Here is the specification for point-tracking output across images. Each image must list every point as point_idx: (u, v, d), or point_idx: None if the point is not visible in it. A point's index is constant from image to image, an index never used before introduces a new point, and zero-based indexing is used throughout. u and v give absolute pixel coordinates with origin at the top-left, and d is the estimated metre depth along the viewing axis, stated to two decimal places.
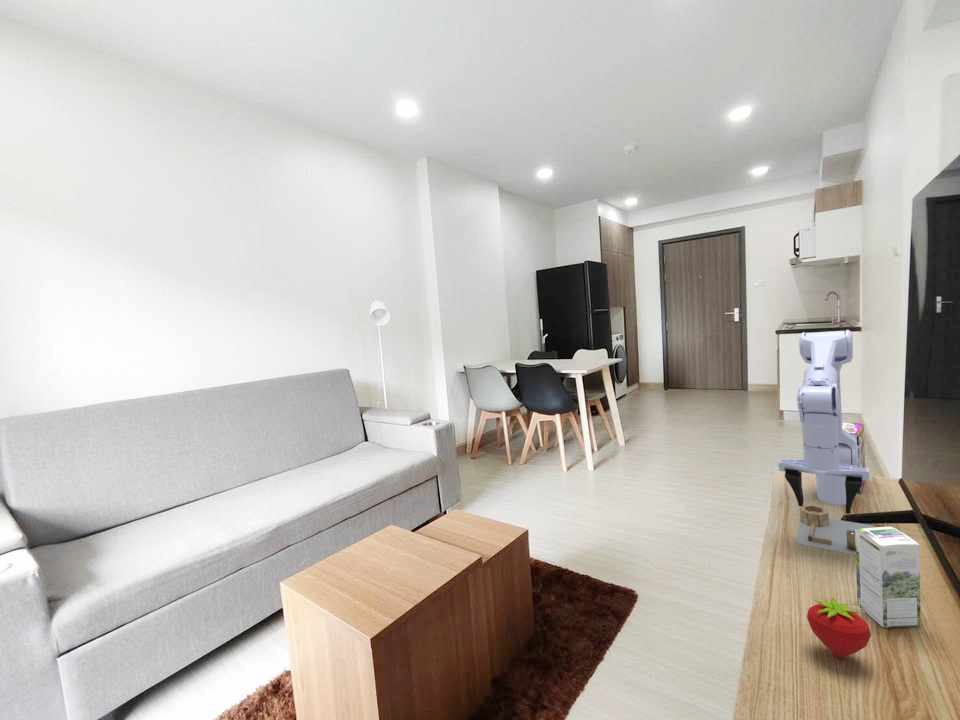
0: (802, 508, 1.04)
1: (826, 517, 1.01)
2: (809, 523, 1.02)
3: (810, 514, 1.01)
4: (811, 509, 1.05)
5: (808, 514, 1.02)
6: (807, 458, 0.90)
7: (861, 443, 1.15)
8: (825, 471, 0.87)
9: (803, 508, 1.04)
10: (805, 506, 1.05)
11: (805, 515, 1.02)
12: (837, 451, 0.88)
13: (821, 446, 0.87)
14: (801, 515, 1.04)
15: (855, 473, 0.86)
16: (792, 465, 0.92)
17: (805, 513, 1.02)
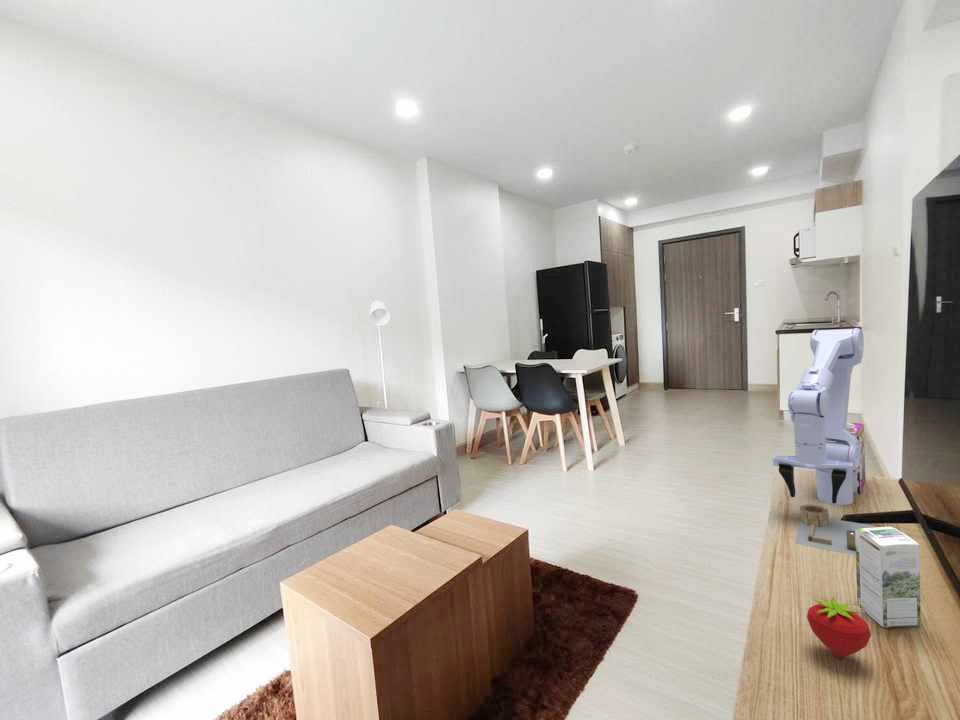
0: (802, 508, 1.04)
1: (826, 517, 1.01)
2: (809, 523, 1.02)
3: (810, 514, 1.01)
4: (811, 509, 1.05)
5: (808, 514, 1.02)
6: (798, 454, 1.01)
7: (861, 443, 1.14)
8: (814, 465, 0.99)
9: (803, 508, 1.04)
10: (805, 506, 1.05)
11: (805, 515, 1.02)
12: (824, 448, 0.99)
13: (807, 443, 0.99)
14: (801, 515, 1.04)
15: (840, 467, 0.97)
16: (785, 460, 1.04)
17: (805, 513, 1.02)
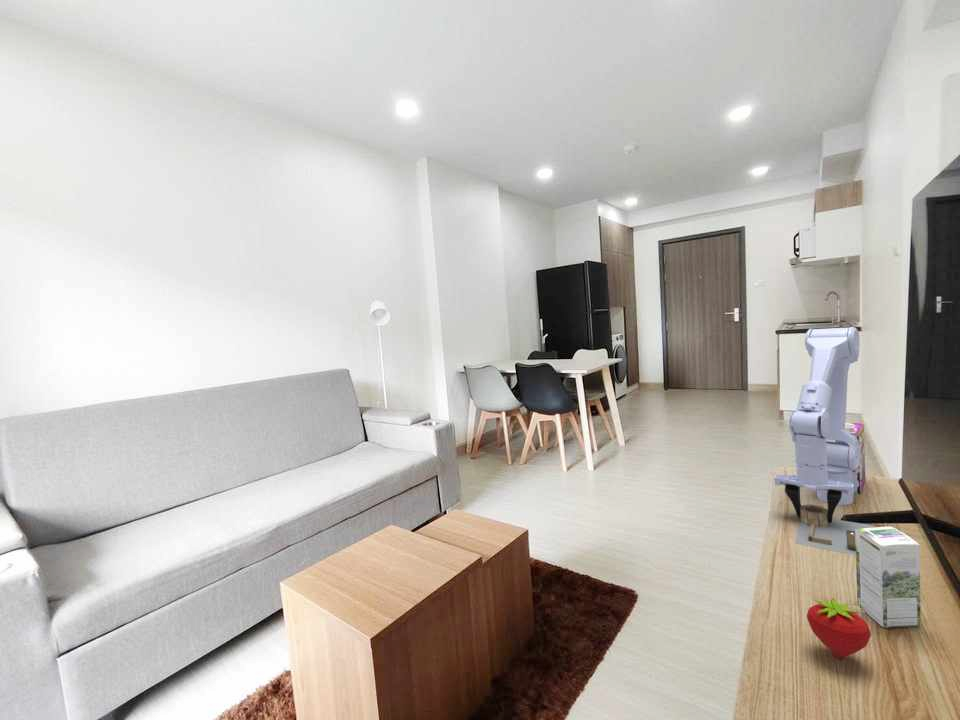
0: (802, 508, 1.04)
1: (826, 517, 1.01)
2: (809, 523, 1.02)
3: (810, 514, 1.01)
4: (811, 509, 1.05)
5: (808, 514, 1.02)
6: (800, 474, 1.02)
7: (861, 443, 1.14)
8: (815, 486, 0.99)
9: (803, 508, 1.04)
10: (805, 506, 1.05)
11: (805, 515, 1.02)
12: (825, 469, 0.99)
13: (808, 464, 1.00)
14: (801, 515, 1.04)
15: (841, 488, 0.98)
16: (786, 480, 1.04)
17: (805, 513, 1.02)
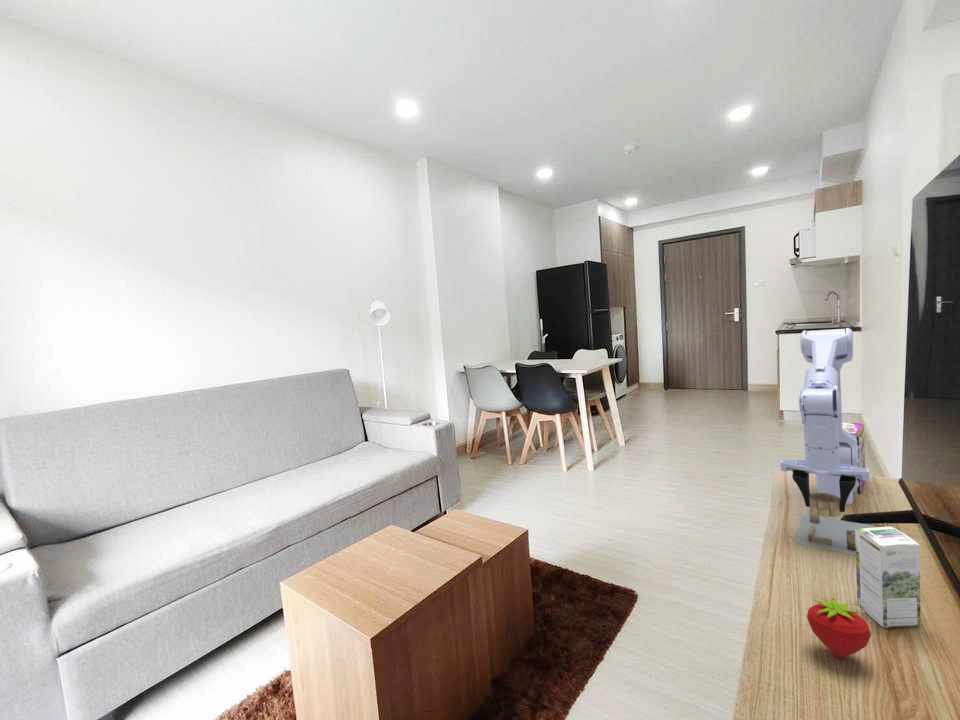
0: (811, 496, 0.94)
1: (838, 506, 0.91)
2: (819, 513, 0.92)
3: (820, 503, 0.92)
4: (821, 498, 0.95)
5: (818, 502, 0.92)
6: (809, 459, 0.92)
7: (861, 443, 1.15)
8: (826, 471, 0.90)
9: (812, 496, 0.94)
10: (814, 494, 0.95)
11: (814, 504, 0.93)
12: (837, 452, 0.90)
13: (822, 447, 0.90)
14: (810, 504, 0.94)
15: (855, 473, 0.88)
16: (794, 465, 0.95)
17: (815, 502, 0.93)
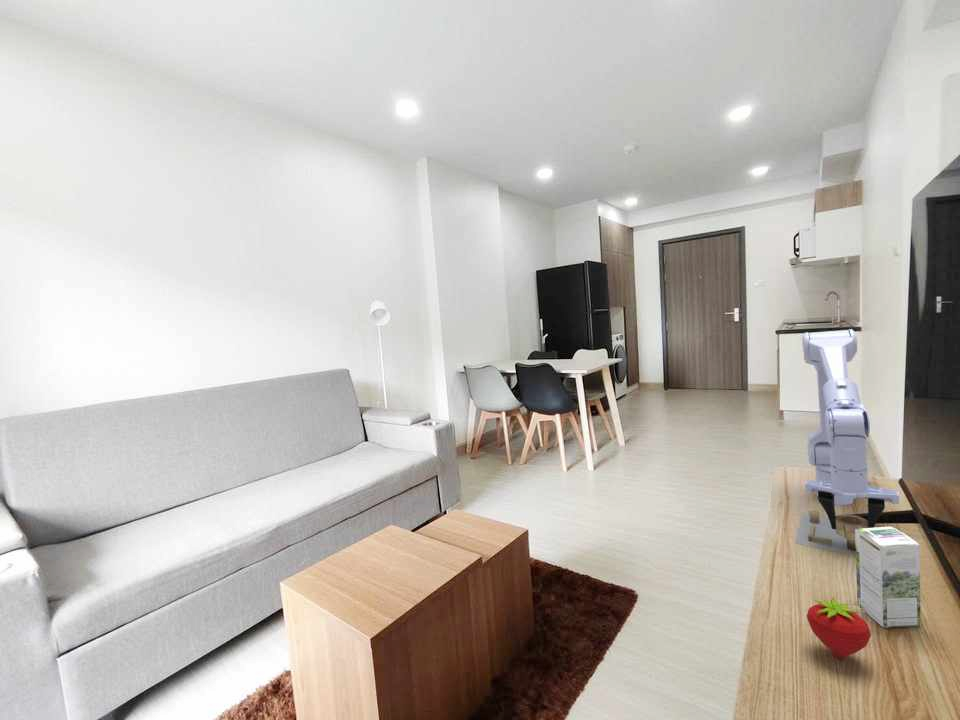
0: (837, 519, 0.92)
1: None
2: (846, 536, 0.90)
3: (848, 526, 0.89)
4: (847, 520, 0.93)
5: (846, 526, 0.89)
6: (836, 481, 0.90)
7: None
8: (854, 494, 0.87)
9: (839, 519, 0.92)
10: (841, 516, 0.93)
11: (841, 527, 0.90)
12: (866, 474, 0.87)
13: (853, 469, 0.87)
14: (836, 527, 0.92)
15: (885, 496, 0.86)
16: (819, 487, 0.92)
17: (842, 525, 0.90)
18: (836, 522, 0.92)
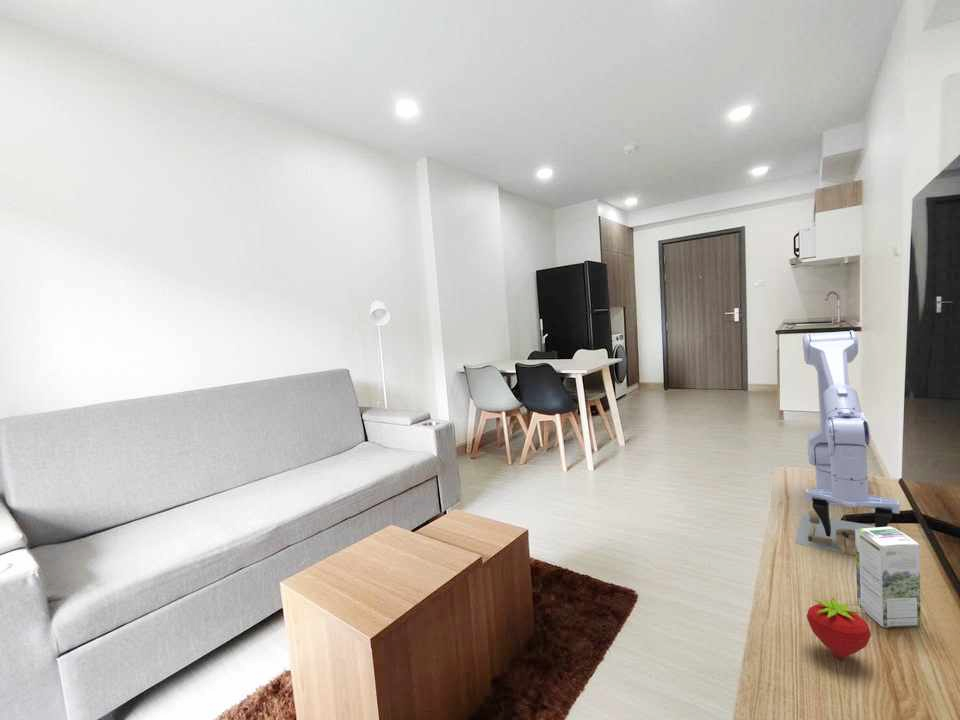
0: (838, 533, 0.92)
1: None
2: (847, 551, 0.90)
3: (848, 541, 0.90)
4: None
5: (846, 540, 0.90)
6: (836, 489, 0.90)
7: None
8: (854, 503, 0.87)
9: (839, 533, 0.92)
10: (841, 531, 0.93)
11: (842, 541, 0.91)
12: (866, 483, 0.88)
13: (853, 478, 0.87)
14: (837, 541, 0.92)
15: (885, 505, 0.86)
16: (820, 495, 0.92)
17: (842, 539, 0.91)
18: (837, 537, 0.92)
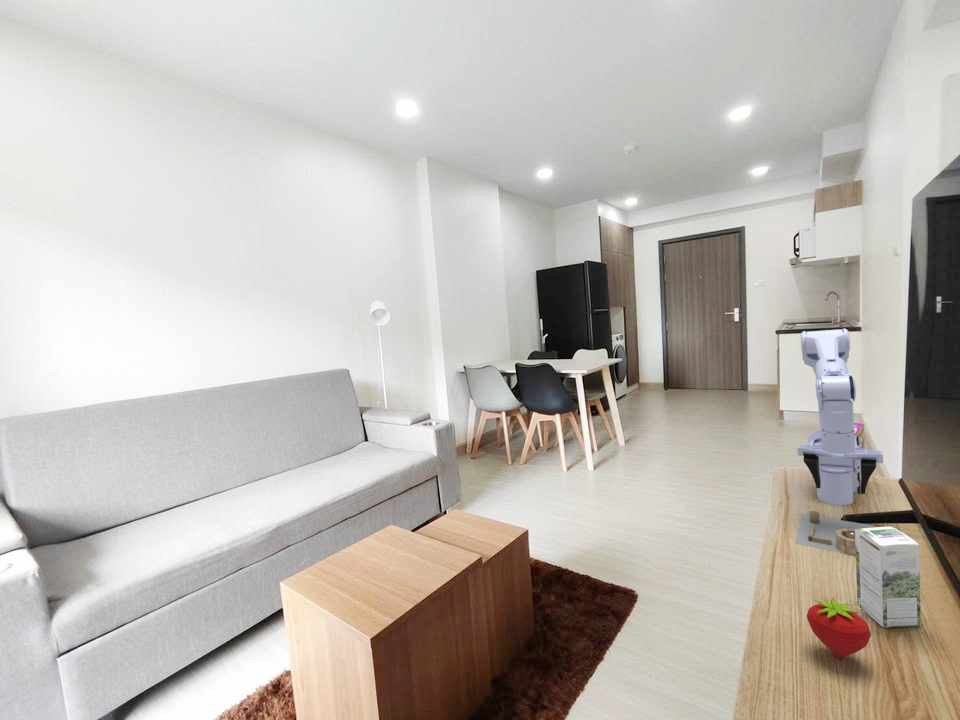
0: (838, 533, 0.92)
1: None
2: (847, 551, 0.90)
3: (848, 541, 0.90)
4: None
5: (846, 540, 0.90)
6: (825, 443, 0.97)
7: (861, 443, 1.15)
8: (842, 454, 0.94)
9: (839, 533, 0.92)
10: (841, 531, 0.93)
11: (842, 541, 0.91)
12: (852, 436, 0.95)
13: (840, 431, 0.94)
14: (837, 541, 0.92)
15: (870, 456, 0.93)
16: (810, 449, 0.99)
17: (842, 539, 0.91)
18: (837, 537, 0.92)
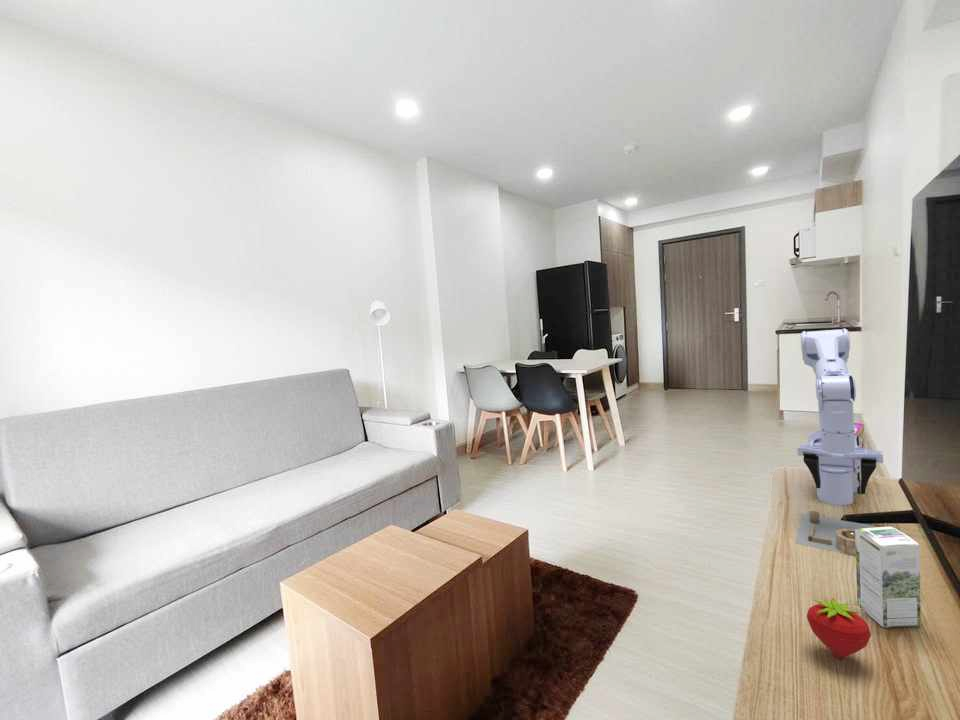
0: (838, 533, 0.92)
1: None
2: (847, 551, 0.90)
3: (848, 541, 0.90)
4: None
5: (846, 540, 0.90)
6: (825, 443, 0.97)
7: (861, 443, 1.14)
8: (842, 454, 0.94)
9: (839, 533, 0.92)
10: (841, 531, 0.93)
11: (842, 541, 0.91)
12: (852, 436, 0.95)
13: (840, 431, 0.94)
14: (837, 541, 0.92)
15: (870, 456, 0.93)
16: (810, 449, 0.99)
17: (842, 539, 0.91)
18: (837, 537, 0.92)
